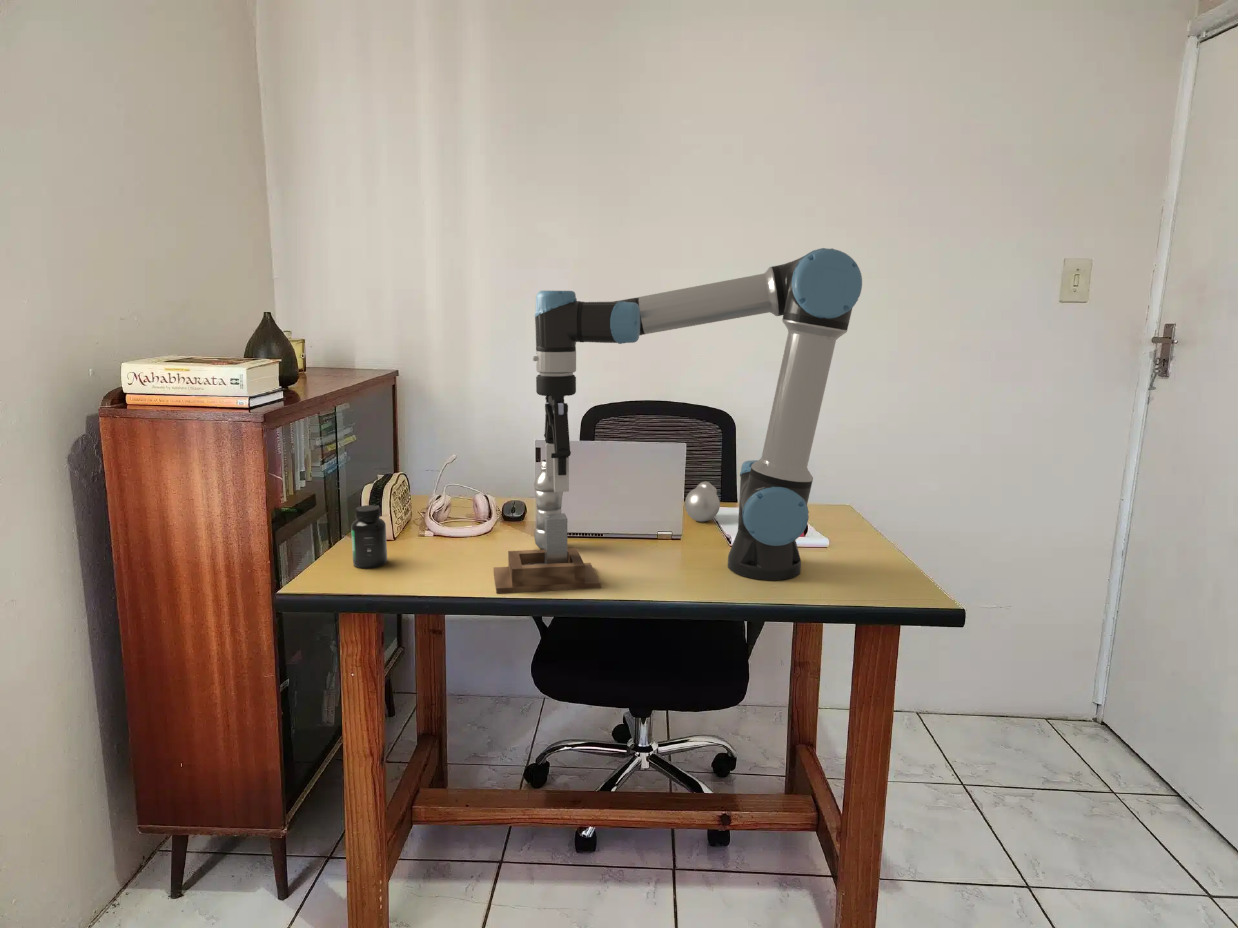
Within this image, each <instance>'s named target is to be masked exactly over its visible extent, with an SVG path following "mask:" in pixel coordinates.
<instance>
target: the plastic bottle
mask: <svg viewBox="0 0 1238 928" xmlns="http://www.w3.org/2000/svg"><path fill="white" fill-rule="evenodd" d="M539 469H540V471H541V472H540V473H539V474H538V475H537V476H536V477H535V479H534V482H533V483H534V484H533V486H534V487H533V489H534V495H535V500H536V502H535V503H536V523H535V524H536V525H535V528H534V529H535V530H534V543H535V545H536V547H538V548H539V549H540V550H544V549H545V514H559V513H562V505H563V504H562V503H563V494H564V492H554V476H546V458H544V459H541V460H540V466H539Z"/></svg>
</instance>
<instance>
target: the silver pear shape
mask: <svg viewBox="0 0 1238 928" xmlns="http://www.w3.org/2000/svg"><path fill="white" fill-rule="evenodd" d="M717 493H718V490H717V488H716V487H715V486H714V485H712V484H711V483H710V482H709V481H705V480H704V481H702V482H700V483H698V484H697V486H696V487H695V488H693V489H692V490H690V491H689V492H688V494H687V495H686V498H685V501H684V508H685V511H686V514H687V515H688V516H689V517H690V518H691V519H692V520H694V521H696V522H701V523H705V522H709V521H711V520H712V519H714V518H715V517H716V516H717V515H718V513H719V511H720V507H721V501H720V498H719V496H718V494H717Z"/></svg>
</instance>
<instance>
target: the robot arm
mask: <svg viewBox="0 0 1238 928" xmlns="http://www.w3.org/2000/svg"><path fill="white" fill-rule="evenodd" d="M858 265H859V264H857V262H856V261H855V259H853V258H852V257H851V256H850V255H849V254H847V253H845V252H844V251H841V250H839V249H834V248H824V247H823V248H817V249H814V250H812V251H810V252H808V253H807V254H805V255H803V256H801V257H799V258H797V259H794V260H792V261H788V262H786V263H783V264H779V265H773V266H769V267H768V268H767V270H766V271H765V272H764V273H760V274H755V275H749V276H744V277H738V278H732V279H727V280H721V281H718V282H712V283H706V284H700V285H696V286H689V287H685V288H680V289H679V288H678V289H674V290H669V291H664V292H658V293H652V294H648V295H642V296H639V297H632V298H625V299H621V300H620V299H619V300H614V301H580V300H577V297H576V293H575V291H573V290H540V291H539V292H537V294H536V296H535V314H534V321H535V323H534V324H535V325H534V326H535V351H536V352H535V353H536V355H534V356H533V357H532V361H533V362H536V363H535V364H536V365H535V367H536V368H535V370H536V372H537V373H539V374H538V375H537V374H536V377H535V378H536V379H535V380H536V381H535V384H536V385H535V387H536V389H535V391H536V394H537V395H539V396H544V397H545V404H544V410H545V421H544V422H545V423H544V434H543V437H544V439H545V440H544V441H545V459H546V476H554V492H563V493H564V492H565V493H567V492H570V468H569V467H570V461H569V460H570V456H571V454H572V451H571V443H570V430H569V429H570V428H569V415H568V413H569V405H568V402H567V403H566V402H565V397H566V396H567V397H569V396H573V395H575V394H576V393H577V376H576V375H575V374H574V373H575V372H576V371H577V351H576V350H577V349H576V348H577V347H576V345H577V343H605V344H607V343H608V344H618V345H619V344H620V345H622V344H630V343H631V344H635V343H636V342H638V341H639V338H640V336H643V335H649V334H654V333H660V332H661V333H662V332H666V331H671V330H677V329H683V328H688V327H689V328H690V327H695V326H699V325H705V324H712V323H716V322H724V321H729V320H734V319H740V318H745V317H750V316H757V315H761V314H762V315H763V314H768V313H770V314H773V315H774V316H775V317H781V316H782V320H781V321H782V323H783V324H784V326H785V327H786V328H787V337H786V340H785V341H786V342H785V346H784V351H783V355H782V361H781V365H780V369H779V374H778V378H777V383H776V384H777V385H776V388H775V393H774V398H773V401H772V406H771V407H772V408H771V412H770V416H769V421H768V425H767V430H766V435H765V439H764V443H763V444H764V445H763V447H762V453H761V457H760V458H759V459H758V460H755V459H753V460H746V461H744V462H743V463H742V464H741V469H740V472H739V477H740V481H739V482H740V483H739V484H740V485H739V498H738V499H739V501H738V502H739V504H738V522H737V523H738V525H737V532H736V535H735V538H734V540H733V543H732V545H731V547H730V549H729V553H728V557H727V568H728V569H729V570H730V571H731V572H733V573H734V574H737V575H738V576H742V577H745V578H749V579H756V580H761V581H762V580H764V581H781V580H782V581H783V580H789V579H793V578H795V577H797V576H798V575H800V574H801V570H802V558H801V555H800V551H799V548H798V544H797V539H799V538H800V537H801V535H802V534H803V533H804V532H805V530H806V529H807V525H808V521H809V517H810V516H809V513H810V511H809V506H808V502H809V498H810V494H811V488H812V484H813V481H814V477H813V475H812V474H811V472H810V471H809V468H808V466H809V465H808V464H809V461H810V457H811V451H812V447H813V443H814V440H815V439H814V438H815V434H816V430H817V426H818V421H819V416H820V413H821V408H822V403H823V400H824V394H825V391H826V385H827V382H828V377H829V373H830V368H831V366H832V365H831V363H832V360H833V359H832V358H833V355H834V351H835V347H836V341H837V340H838V339H839V338H841V337H842V336H843V335H845V334H847V332H848V329H849V325H850V320H851V315H852V311H853V308H854V306H855V305H856V303H857V302H858V301H859V298H860V296H861V294H862V288H863V277H862V273H861V269H860V267H859V266H858Z"/></svg>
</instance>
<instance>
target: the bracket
mask: <svg viewBox="0 0 1238 928" xmlns="http://www.w3.org/2000/svg"><path fill="white" fill-rule="evenodd" d="M567 548H568V516H567V515H566V513H564V512H561V513H559V514H545V563H535V564H556V563H567ZM535 564H525V565H535Z"/></svg>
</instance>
